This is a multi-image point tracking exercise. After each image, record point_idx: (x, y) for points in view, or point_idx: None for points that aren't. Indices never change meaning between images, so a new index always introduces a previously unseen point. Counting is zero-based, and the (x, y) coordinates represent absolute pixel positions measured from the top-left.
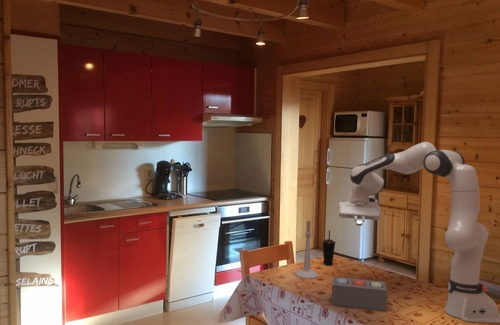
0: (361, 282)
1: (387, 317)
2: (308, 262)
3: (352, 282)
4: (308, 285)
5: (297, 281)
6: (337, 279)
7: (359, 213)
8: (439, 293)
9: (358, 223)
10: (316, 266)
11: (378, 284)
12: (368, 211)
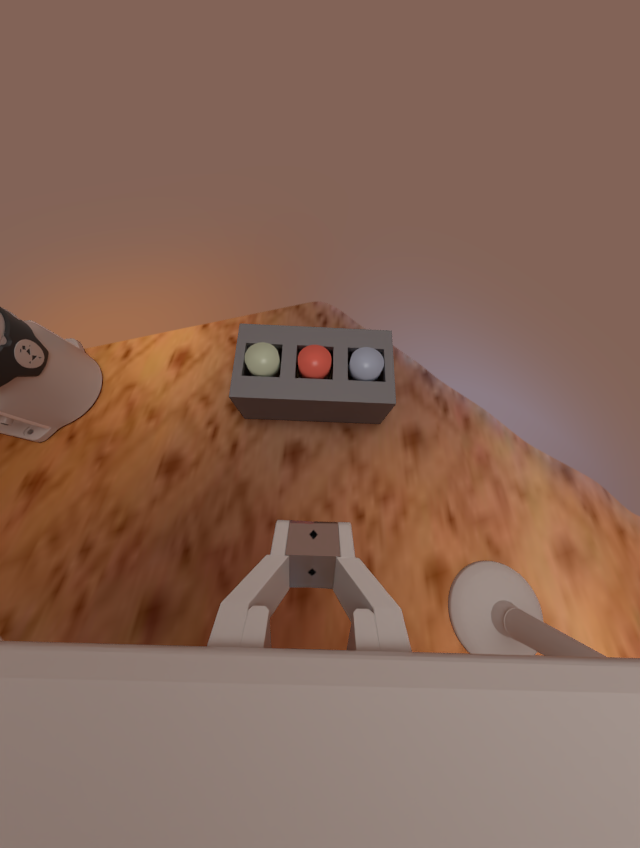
0: (307, 353)
1: None
2: (525, 620)
3: (334, 364)
4: (459, 490)
5: (502, 520)
6: (381, 361)
7: (314, 693)
8: (39, 539)
9: (324, 523)
10: None
11: (257, 349)
12: (7, 842)
